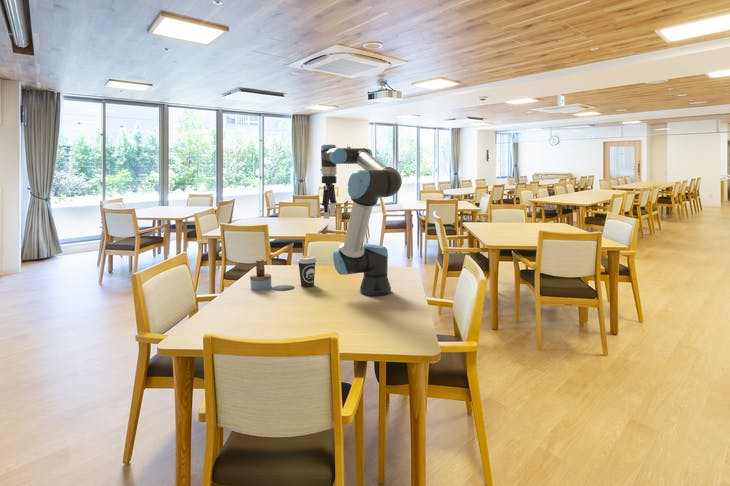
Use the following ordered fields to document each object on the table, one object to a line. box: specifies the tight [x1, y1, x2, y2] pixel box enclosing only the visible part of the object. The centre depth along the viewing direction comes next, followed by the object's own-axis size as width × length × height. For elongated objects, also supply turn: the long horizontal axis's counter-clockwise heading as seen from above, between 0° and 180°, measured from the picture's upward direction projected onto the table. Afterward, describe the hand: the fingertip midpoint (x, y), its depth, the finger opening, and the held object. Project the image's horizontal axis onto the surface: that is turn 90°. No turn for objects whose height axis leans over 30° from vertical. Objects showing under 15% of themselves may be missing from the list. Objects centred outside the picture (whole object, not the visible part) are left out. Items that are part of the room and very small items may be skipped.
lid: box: [249, 259, 272, 281], centre depth 236 cm, size 10×10×9 cm
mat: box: [271, 284, 295, 292], centre depth 236 cm, size 11×11×1 cm
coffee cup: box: [297, 255, 317, 288], centre depth 240 cm, size 10×10×15 cm
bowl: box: [249, 278, 272, 291], centre depth 237 cm, size 10×10×5 cm
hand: (329, 217), depth 242 cm, fingers open, 13 cm apart
